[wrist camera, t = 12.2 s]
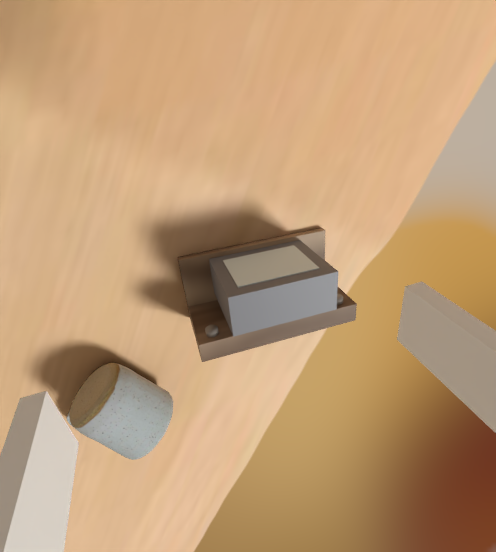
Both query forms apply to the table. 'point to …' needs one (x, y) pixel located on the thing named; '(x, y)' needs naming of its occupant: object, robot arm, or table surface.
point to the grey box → (273, 286)
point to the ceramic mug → (121, 410)
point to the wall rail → (211, 320)
